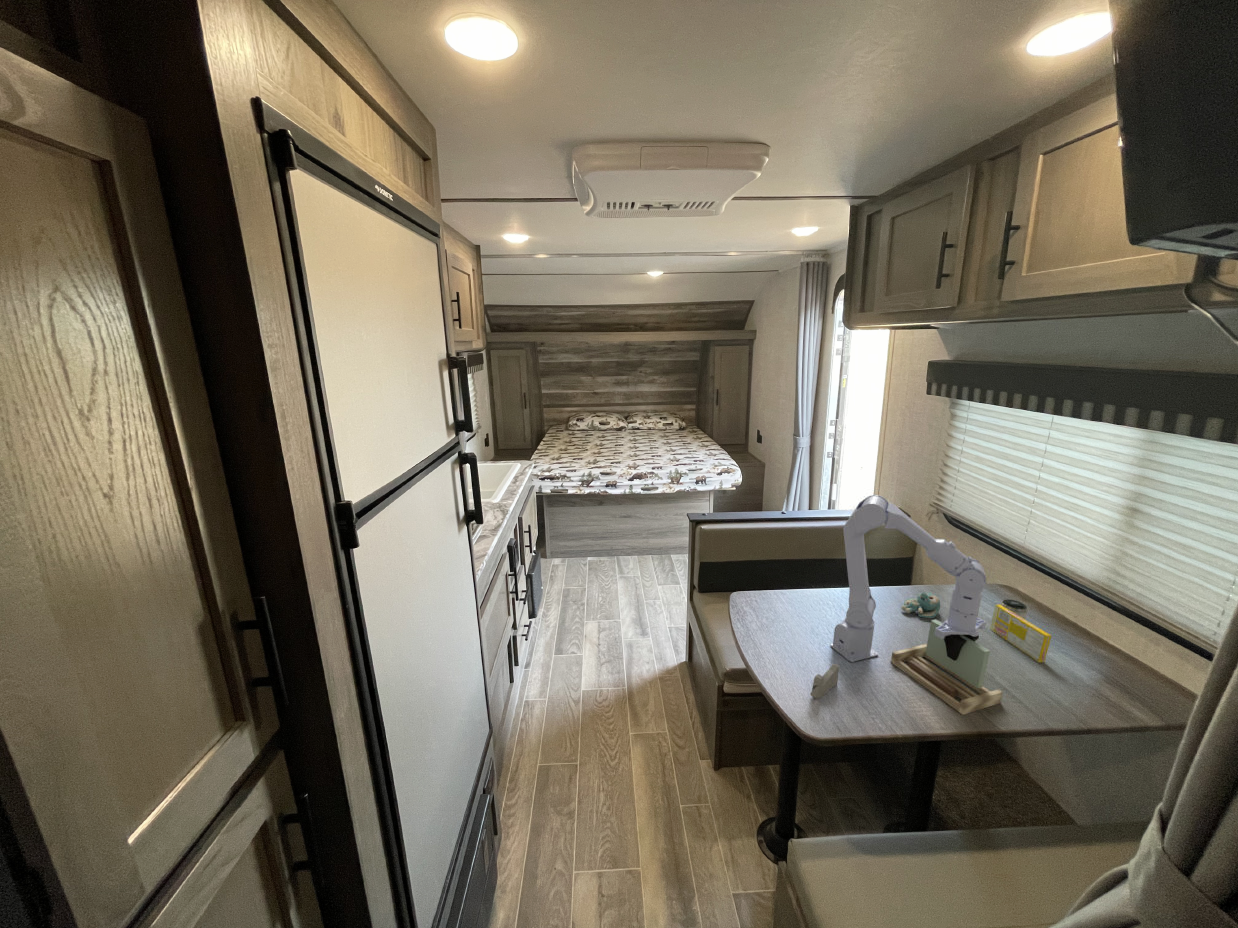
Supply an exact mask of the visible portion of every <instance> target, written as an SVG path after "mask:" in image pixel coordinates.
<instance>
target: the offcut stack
mask: <svg viewBox="0 0 1238 928" xmlns="http://www.w3.org/2000/svg"><path fill="white" fill-rule="evenodd" d="M908 666H909V667H910V668H912V669H913V670H914V671H916V672H917V673H919V674H920V675H921V676H923V677H924V678H926V679H927V680H929V681H930V682H931V683H933V684H934V685H936V686H937V687H938V688H940V689H941V690H943V691H944V692H945V693H947V694H948V695H950V696H951V697H952V698H954V699H955V698H957V697H958V696H957V691H958V690H957V689H955V688H954V687H952V686H951V685H949V684H948V683H946V682H945V681H944V680H942V679H941V678H939V677H938V676H936V675H935V674H933V673H932V672H930V671H929V670H928V669H926V668H925V667H923V666H922V665H919V664H918V663H916V662H915V661H914V662H913V661H912V660H911V661H909V662H908Z"/></svg>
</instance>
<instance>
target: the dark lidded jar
mask: <svg viewBox="0 0 1238 928" xmlns="http://www.w3.org/2000/svg"><path fill="white" fill-rule="evenodd" d="M1000 605H1002V606H1003V607H1005V608H1007V609H1008V610H1010V611H1012V612H1013V613H1015V614H1017V615H1018V616H1020V617H1022V618H1023V619H1025V620H1026V621H1027V614H1028V611H1029V609H1028V607H1027V605H1025V604H1024V603H1023V602H1021V601H1018V600H1015V599H1008V598H1007V599H1003V600H1002V601H1000Z"/></svg>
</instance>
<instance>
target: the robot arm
mask: <svg viewBox="0 0 1238 928" xmlns="http://www.w3.org/2000/svg"><path fill="white" fill-rule="evenodd" d="M883 525H884V527H883V529H886V530H888V529H890V530H891V529H894V530H898V531H900V532H901V533H902V534H904V535H905V536H907V537H909V538H910V539H911V540H912V541H914V542H915V543H916V544H918V545H919V546H921V547H922V548H924V549H925V553H926V557H927V558H929V559H930V560H931V561H933V562H934V563H935V564H936V565H937V566H938V567H940V568H941V569H943V570H944V571H945V572H947V573H948V574H949V575H950V576H952V577H955V583H954V587H953V588H952V593H951V599H950V603H949V609H948V615H947V618H946V620H945V621H944V622H942V623H943V624H942V625H940V626H939V627H937V628H935V633H934V635H935V636H937V637H939V638H940V639H944V642H945V645H946V652H947V657H949V658H951V659H952V660H954V661H956V660H957V658H958V656H959V653H960V650H961V648H962V646H963V645H964V644H965V643H966V642H967V640H965V639H963V638H962V637H961V635H964V636H965V637H967V638H969V639H971V640H972V641H974V642H976V641H978V640H979V638H980V636H979V635H980V632H979V629H980V630H984V629H986V625H987V622H986V621H985V620H983V619H982V618H979V617H978V616H979V612H980V606H981V601H982V597H983V596H982V593H983V590H984V589H985V588H986V586H987V584H988V582H987V578H986V577H987V575H986V573H985V569H984V567H983V565H982V564H981V563H980V561H979V560H977V559H975V558H972V556H967V555H965V554H964V553H963V552H961V550H959V549H957V547H956V544H955V543H954V542H953V541H949V542H948V541H947V540H946V539H944V538H943V539H942V538H935V537H933V536H932V535H931V534H930V533H929V532H927V530H925V529H924V528H923V527H921V526H920V525H919V524H918V523H917V522H915V521H914V520H913V519H912V518H911V517H910V516H908V515H907V514H906V513H904V512H903V510H901V509H900V508H899V507H898V506H896V505H895V504H894V503H892V502H891V501H889V502H888V500H887V498H885V497H883V496H882V495H877V494H871V495H869V496H867V497H865V498H864V499H863V500H861V501H860V502H859V503H858V504H857V506H856V507H855V509H854V510H853V512H852V513H851V515H850V516H849V518H848V519H847V521H846V522H845V524H844V526H843V529H842V530H843V532H842V533H843V538H844V539H843V541H844V548H845V549H844V551H845V557H846V558H845V560H846V569H847V578H848V588H849V593H848V608H847V610H846V614H845V618H844V620H843V621H842V622H840V623H838V624H836V626H834V631H833V638H832V639H833V640H832V643H831V644H830V647H831V648H833V649H834V650H835V651H836V652H837V653H839V654H840V655H841V656H842V657H844V658H845V659H847V661H849V662H850V663H854V662H857V661H861V660H862V661H863V660H864V659H865V660H866V659H870V658H873V657H878V656H879V653H878V652H877V651H875V650H874V649H873V648H872V646H873V637H874V629H875V621H874V618H873V617H874V612H875V610H876V608H877V607H876V605H877V603H876V600H875V599H874V598H873V596H872V590H871V588H870V585H869V575H868V574H869V573H868V565H867V564H868V563H867V553H866V545H865V534H866V533H868V532H869V531H871V530H874V529H877V528H879V527H881V526H883Z"/></svg>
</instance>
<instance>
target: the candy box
mask: <svg viewBox="0 0 1238 928" xmlns="http://www.w3.org/2000/svg"><path fill="white" fill-rule="evenodd" d="M993 609H994V610H993V614H992V618H991V623H990V625H989V630H991V631H993V632H994V633H995V634H996V633H997V634H996V635H998V636H1000V637H1001V638H1002V639H1004V640H1006V642H1008V643H1010V644H1011V645H1013V646H1014V647H1016V648H1017V649H1019V650H1020V651H1021V652H1023V653H1024V654H1026V655H1028V656H1029V657H1030V658H1031V659H1033V660H1034V661H1035V662H1037V663H1045V662H1046V657H1047V654H1048V650H1049V647H1050V644H1051V639H1052V635H1051V634H1049V633H1048V632H1046V631H1045V630H1043V629H1041V628H1040V627H1038V626H1036V625H1035V624H1033V623H1031V622H1030V621H1028V620H1027V619H1026V620H1025V619H1023V618H1022V617H1020V616H1018V615H1017V614H1015V613H1013V612H1012V611H1010V610H1008V609H1007V608H1005V607H1003V606H1002V605H1001V604H995V605H994V608H993Z"/></svg>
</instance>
